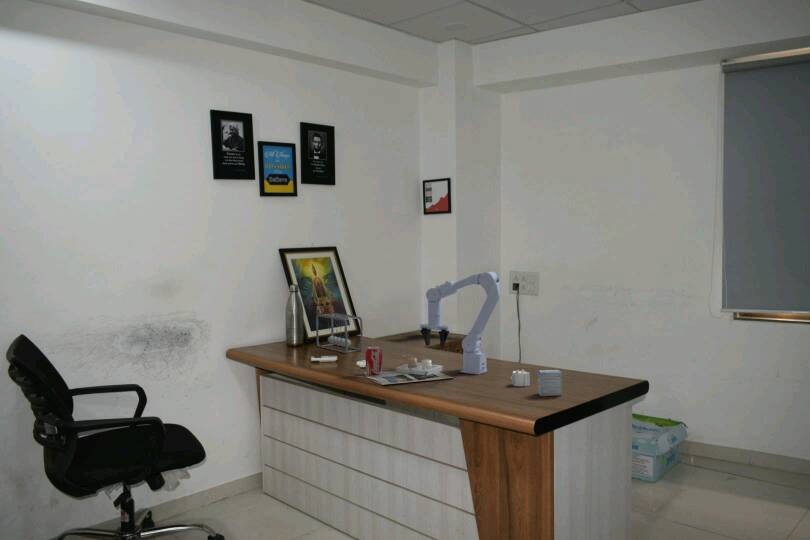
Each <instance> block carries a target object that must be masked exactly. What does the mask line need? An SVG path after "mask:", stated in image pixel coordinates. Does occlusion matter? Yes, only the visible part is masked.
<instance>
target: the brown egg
mask: <svg viewBox="0 0 810 540" xmlns="http://www.w3.org/2000/svg"><path fill="white" fill-rule="evenodd" d="M417 363H418V358H417V357H408V358H407V363H406V364H407V365H408V368H410V369H412V368H415V367H417Z"/></svg>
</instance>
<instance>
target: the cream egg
mask: <svg viewBox="0 0 810 540" xmlns="http://www.w3.org/2000/svg"><path fill="white" fill-rule="evenodd" d="M421 363H422V370H429V369H431V364H432V359H428V358H427V359H421Z"/></svg>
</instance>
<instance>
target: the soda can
mask: <svg viewBox="0 0 810 540" xmlns="http://www.w3.org/2000/svg"><path fill="white" fill-rule="evenodd" d="M365 372H366V375H367V376H373V377H374V376H375V375H377V376H381V375H382V374H383V351H382V349H381V346H377V345H376V346H375V345H374V346H373V345H372V346H371V345H370V346H367V347H366V350H365ZM375 377H376V376H375Z"/></svg>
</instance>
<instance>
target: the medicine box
mask: <svg viewBox="0 0 810 540" xmlns="http://www.w3.org/2000/svg"><path fill="white" fill-rule="evenodd" d="M562 378H563V372H562V371H561V370H559V369H542V370H541V369H540V370H537V393H538V395H539V396H541V397H547V396H548V397H550V396H562V394H563V393H562V392H563V390H562V387H563V385H562V383H563V380H562Z"/></svg>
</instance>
